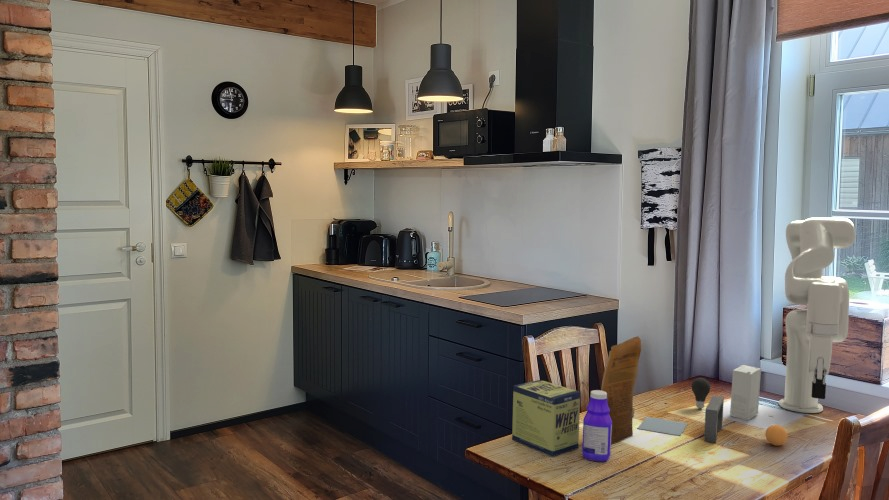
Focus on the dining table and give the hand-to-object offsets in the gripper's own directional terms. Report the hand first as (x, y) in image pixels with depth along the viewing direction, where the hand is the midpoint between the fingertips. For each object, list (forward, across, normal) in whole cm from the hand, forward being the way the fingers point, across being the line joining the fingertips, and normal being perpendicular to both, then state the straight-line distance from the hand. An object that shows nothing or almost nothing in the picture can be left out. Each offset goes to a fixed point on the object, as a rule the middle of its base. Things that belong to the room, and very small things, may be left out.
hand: (818, 397), depth 185 cm
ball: (+12, 0, -10) cm, 15 cm away
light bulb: (+15, -23, -32) cm, 43 cm away
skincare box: (+15, -23, -20) cm, 34 cm away
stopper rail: (+15, 0, -50) cm, 52 cm away
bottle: (+15, +34, -50) cm, 62 cm away
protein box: (+15, +31, -64) cm, 73 cm away
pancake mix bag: (+15, +17, -48) cm, 53 cm away
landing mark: (+15, 0, -40) cm, 42 cm away
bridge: (+15, 0, -26) cm, 29 cm away
